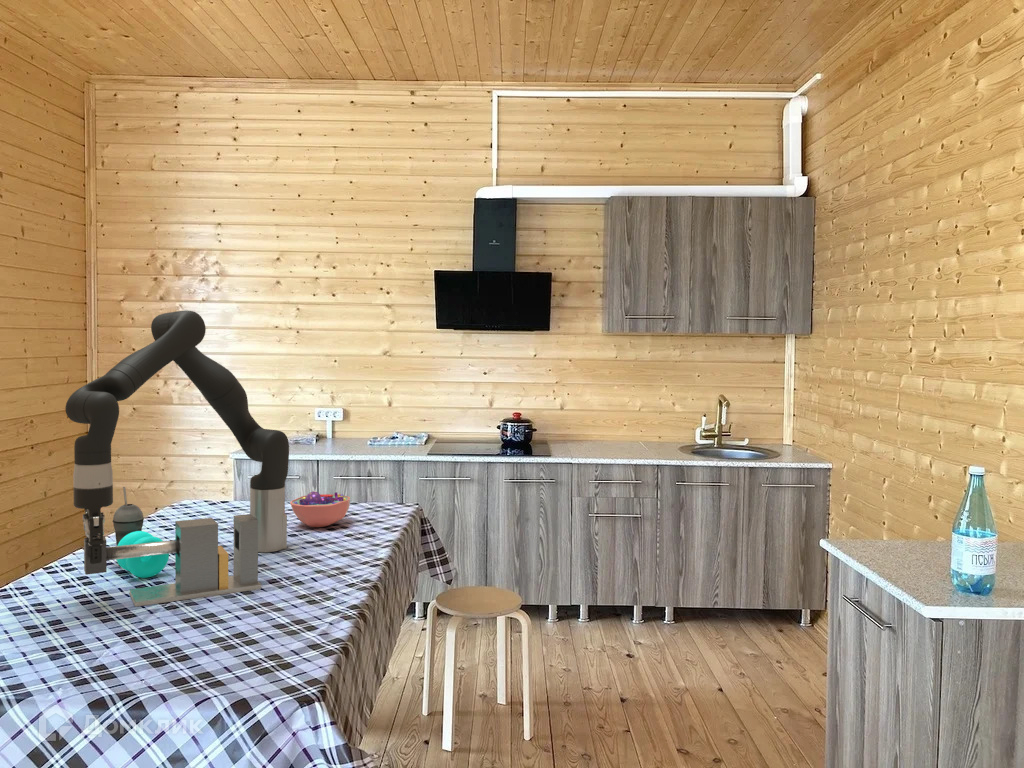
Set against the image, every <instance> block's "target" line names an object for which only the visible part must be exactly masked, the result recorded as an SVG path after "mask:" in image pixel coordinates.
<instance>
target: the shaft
mask: <svg viewBox="0 0 1024 768" xmlns="http://www.w3.org/2000/svg"><path fill="white" fill-rule="evenodd" d="M93 539H99V536H98V537H93ZM103 540H104V542H103V544H102V561H101V563H96V564H91V563H90V547H89V545H88V543H89V538H87V537H84V538H83V562H84V563H83V569H84V570H83V571H84V574H85V576H86V575H87V576H88V575H93V574H94V575H95V574H101V573H107V562H108V561H113V560H116V559H124V558H133V557H142V556H150V555H159V554H168V553H169V554H175V553H177V552H180V540H175V539H172V540H163V541H162V542H153V543H143V544H134V545H124V546H117V545H116V546H115V545H114V546H107V538H106V536H105V535H103Z"/></svg>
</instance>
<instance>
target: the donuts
mask: <svg viewBox="0 0 1024 768" xmlns="http://www.w3.org/2000/svg"><path fill="white" fill-rule="evenodd" d="M162 541H164V540H163V539H162V538H159V537H157V536H153V534H152V533H149V532H148V531H144V530H142V531H135V532H131V533H129V534H127V535H126V536H124V537H123V538H122V539H121V540H120V542H119V543H118V545H116V546H124V545H134V544H143V543H153V542H162ZM169 557H170V553H168V554H159V555H150V556H142V557H133V558H124V559H115V560H116V563H117V564H118V566H119V565H120V566H121V567H120V566H119V567H120V568H122V569H124V570H125V571H128V572H129V573H130V574H131V575H133V576H135V577H137V578H141V579H146V578H147V579H149V578H152V577H155V576H156V575H158V574H159V573H161V572H162V571H163V570H164V569H165V568H166V566H167V564H168V561H169V559H170V558H169Z"/></svg>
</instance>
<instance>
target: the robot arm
mask: <svg viewBox="0 0 1024 768" xmlns="http://www.w3.org/2000/svg"><path fill="white" fill-rule="evenodd" d="M205 323H206V322H205V321H204V319H203V318H202V316H201V315H200V314H199V313H197V312H196V311H193V310H178V311H170V312H169V311H168V312H164V313H161V314H159V315H157V316H155V317H154V318H153V319H152V321H151V324H150V331H151V335H152V337H153V340H154V341H153V342H151V343H149V344H148V345H146V346H144V347H142V348H140V349H138V350H137V351H134V352H133V353H131V354H129V355H127V356H126V357H124V358H123V359H121V360H120V361H119V362H118V363H116V364H115V365H114V366H113V367H112V368H111V369H109V370H108V371H107V372H106V373H105V374H104V375H103V376H100V377H98V378H96V379H93V380H92V381H91V382H89V383H86V384H85V385H82V386H81V387H79V388H78V389H76V390H75V391H73V392H72V394H71V395H70V396H69V397H68V399H67V401H66V403H65V406H64V407H65V408H64V410H65V414H66V416H67V419H70V420H71V421H72V422H74V423H77V424H84V425H85V424H86V425H89V429H88V432H87V434H84V435H81V436H79V437H77V438H76V439H75V441H74V452H73V453H74V454H73V455H74V468H73V475H72V476H73V478H72V480H73V482H72V483H73V487H72V489H73V506H74V508H75V509H83V510H84V513H82V522H83V531H84V532H85V533H84V535H85V538H89V543H88V545H89V547H90V563H91V564H96V563H101V561H102V544H103V542H104V540H103V536H105V520H106V517H105V514H104V512H103V511H102V512H101V509H102V508H107V507H109V506H111V505H112V504H113V502H114V480H113V479H114V477H113V476H114V475H113V474H114V471H113V466H112V442H113V439H114V435H115V432H116V427H117V425H118V421H119V417H120V405H119V403H118V402H122V401H124V400H127V399H129V398H130V397H132V395H133V394H135V392H136V391H138V390H139V389H140V388H141V387H142V386H143V385H145V383H146V382H148V381H149V380H150V379H151V378H152V377H153V376H154V375H155V374H157V373H158V372H160V370H162V369H163V368H165V367H166V366H168V365H169V364H170V363H171V362H174V363H175V364H176V366H178V367H179V368H180V369H181V370H182V371H183V373H184V374H185V375H186V377H188V379H189V380H190V381H191V383H192V384H193V385H194V386H195V388H197V390H199V392H200V393H201V396H203V398H204V399H205V401H207V402H208V403H207V404H209V405H210V407H211V408H212V409H213V410H214V411H215V413H217V415H218V416H219V417H220V418H221V420H222V421H223V423H225V425H226V426H227V427H228V429H229V430H230V431H231V432H232V434H233V436H234V438H235V439H236V441H237V442H238V444H239V446H240V447H241V449H242V451H243V452H244V454H245V455H246V456H247V457H248V458H249V459H250V460H252V461H255V462H257V463H261V469H260V470H261V471H260V472H259V473H258V474H255V475H253V476H251V477H250V481H249V483H250V484H249V487H250V488H249V495H250V496H249V514H251V515H252V516H254V517H255V518H256V519H257V520H258V553H268V552H269V553H273V552H277V551H281V550H286V549H288V548H287V546H288V538H287V537H288V536H287V535H288V515H287V514H286V513H285V511H286V505H285V504H286V497H285V496H286V480H287V478H288V474H289V458H290V443H289V438H288V436H287V435H286V434H285V432H283V431H282V430H277V429H268V428H264V427H262V426H261V425H259V423H257V421H256V420H255V419H254V417H253V416H252V414H251V413H250V410H249V401H248V395H247V392H246V390H245V389H244V387H243V385H242V384H241V383H240V381H239V380H238V378H237V377H236V376H235V375H234V374H233V373H232V372H231V371H230V370H229V369H228V368H226V367H225V366H224V365H222V364H220V363H219V362H217V361H215V360H213V359H212V358H210V357H209V356H207V355H206V354H204V353H203V352H201V351H200V350H199V349H198V347H197V346H198V345H199V344H200V343H201V342H203V340H204V338H205V336H206V330H207V328H206V324H205ZM93 537H99V539H93Z"/></svg>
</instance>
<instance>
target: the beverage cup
mask: <svg viewBox="0 0 1024 768" xmlns="http://www.w3.org/2000/svg"><path fill="white" fill-rule="evenodd" d="M126 489H127V488H126V486H123V487H122V490H123V499H124V504H122V505H120V506H119V507H118V508H117V509H116V510H115V512H114V514H113V516H112V523H113V530H114V534H115V543H116V546H117V545H118V543H119V542H120V540H121V539H122V538H123V537H124V536H126V535H127V534H129V533H131V532H135V531H143V525H144V521H145V518H144V514H143V511H142V510H141V508H140V507H139V506H137V505H136V504H133V503H128V499H127V491H126ZM118 566H119V567H120V568H122V567H121V566H120V565H119V564H118Z"/></svg>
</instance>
